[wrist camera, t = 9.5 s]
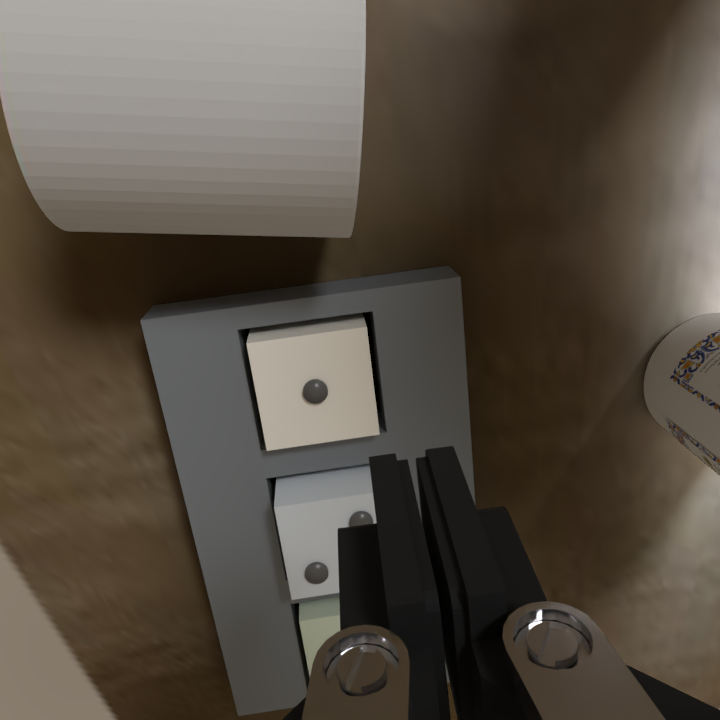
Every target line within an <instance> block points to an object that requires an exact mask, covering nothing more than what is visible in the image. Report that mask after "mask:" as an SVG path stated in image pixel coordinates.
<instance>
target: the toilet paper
mask: <svg viewBox="0 0 720 720" xmlns="http://www.w3.org/2000/svg"><path fill="white" fill-rule="evenodd" d="M365 54H366V0H0V96H1V101H2V106H3V111H4V115H5V119H6V124H7V128H8V131H9V135H10V138H11V142H12V145H13V148H14V151H15V154H16V157H17V160H18V163H19V166H20V168H21V171H22V173H23V176H24V178H25V180H26V183H27V185H28V187H29V189H30V191H31V193H32V195H33V197H34V199H35V200H36V202H37V204H38V205H39V207H40V209H41V210H42V211H43V213H44V214H45V215H46V217H47V218H48V219H49V220H50V221H51V222H52V223H53V224H54V225H56V226H57V227H58V228H60V229H62V230H65V231H71V232H114V233H158V234H201V235H245V236H288V237H332V238H350V237H351V235H352V231H353V227H354V221H355V214H356V207H357V198H358V188H359V177H360V164H361V149H362V133H363V113H364V89H365Z"/></svg>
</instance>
